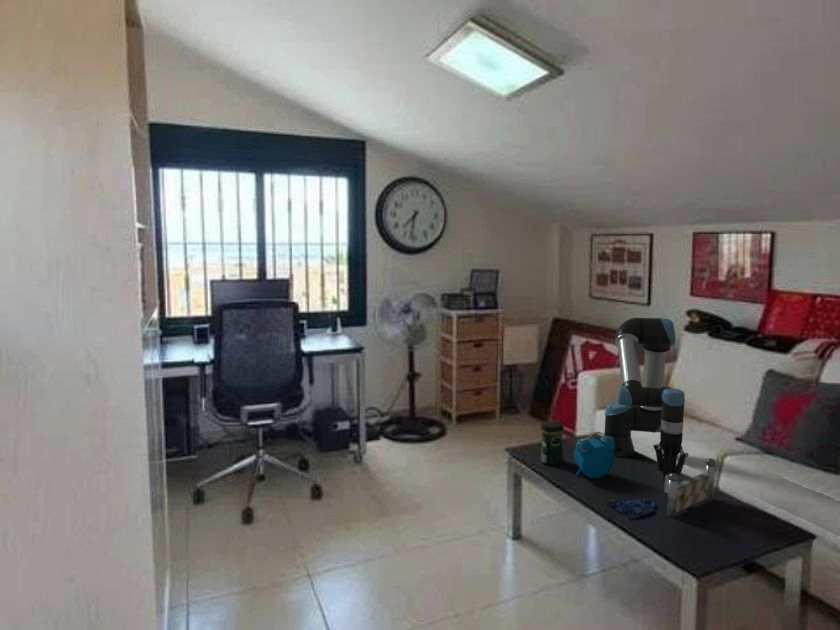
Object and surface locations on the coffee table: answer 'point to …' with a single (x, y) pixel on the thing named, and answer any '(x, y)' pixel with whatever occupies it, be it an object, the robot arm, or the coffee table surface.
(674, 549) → the coffee table surface
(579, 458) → the alarm clock
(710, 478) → the gate posts
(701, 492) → the gate
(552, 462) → the coffee jar
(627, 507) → the rock
